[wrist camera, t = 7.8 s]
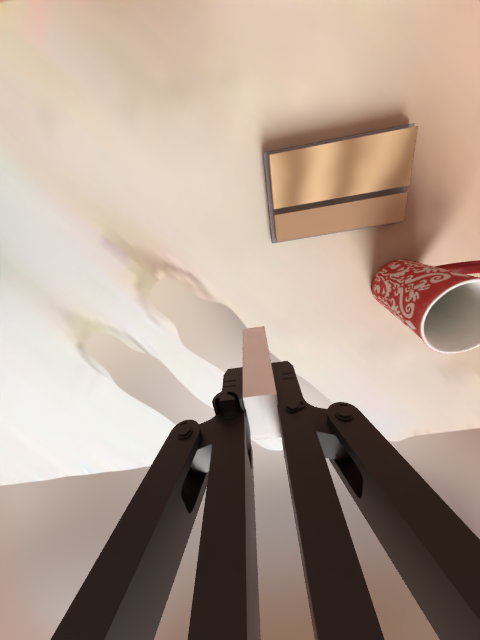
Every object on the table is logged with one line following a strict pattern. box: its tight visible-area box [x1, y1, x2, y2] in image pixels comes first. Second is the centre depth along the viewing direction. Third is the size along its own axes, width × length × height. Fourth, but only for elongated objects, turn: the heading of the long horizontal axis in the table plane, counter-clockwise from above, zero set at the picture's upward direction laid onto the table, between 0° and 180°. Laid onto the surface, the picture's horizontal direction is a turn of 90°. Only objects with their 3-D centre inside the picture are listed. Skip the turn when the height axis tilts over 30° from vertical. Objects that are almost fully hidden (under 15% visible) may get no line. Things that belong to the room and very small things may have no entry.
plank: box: [269, 126, 418, 209], centre depth 30 cm, size 17×6×1 cm, turn 99°
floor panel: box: [263, 123, 414, 243], centre depth 31 cm, size 18×11×2 cm, turn 99°
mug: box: [371, 260, 480, 354], centre depth 31 cm, size 13×9×14 cm
